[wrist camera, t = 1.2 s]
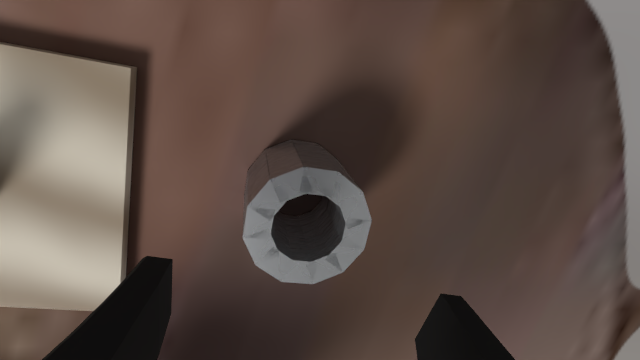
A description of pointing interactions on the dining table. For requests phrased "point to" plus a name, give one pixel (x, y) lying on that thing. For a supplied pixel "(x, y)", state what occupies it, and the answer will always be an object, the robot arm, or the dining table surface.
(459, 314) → the robot arm
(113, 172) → the post stand
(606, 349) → the dining table surface
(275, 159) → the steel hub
